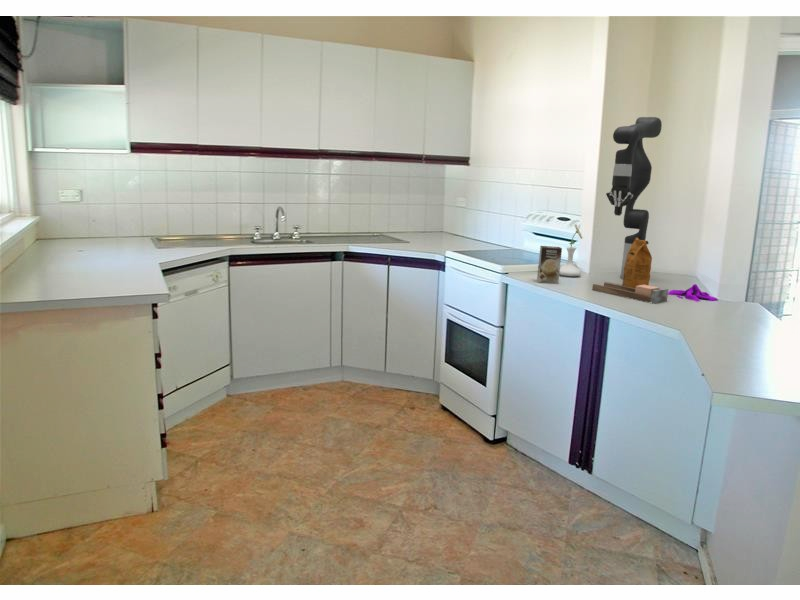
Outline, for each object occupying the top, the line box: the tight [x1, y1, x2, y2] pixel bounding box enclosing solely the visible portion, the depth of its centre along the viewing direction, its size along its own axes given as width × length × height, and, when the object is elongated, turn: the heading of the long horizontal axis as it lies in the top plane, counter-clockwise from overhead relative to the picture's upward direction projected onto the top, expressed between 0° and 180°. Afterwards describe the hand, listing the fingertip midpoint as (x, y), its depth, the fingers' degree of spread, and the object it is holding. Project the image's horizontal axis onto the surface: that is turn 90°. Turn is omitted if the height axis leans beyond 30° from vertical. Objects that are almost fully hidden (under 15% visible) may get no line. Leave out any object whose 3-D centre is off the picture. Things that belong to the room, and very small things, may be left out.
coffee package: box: [621, 238, 653, 288], centre depth 288 cm, size 10×12×22 cm
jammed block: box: [635, 285, 660, 296], centre depth 266 cm, size 6×7×5 cm
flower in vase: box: [559, 223, 583, 277], centre depth 312 cm, size 13×11×25 cm
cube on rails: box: [591, 281, 669, 304], centre depth 272 cm, size 10×30×5 cm, turn 37°
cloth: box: [668, 283, 719, 303], centre depth 273 cm, size 22×19×6 cm
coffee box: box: [536, 245, 563, 284], centre depth 295 cm, size 9×6×16 cm
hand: (617, 215), depth 282 cm, fingers closed
